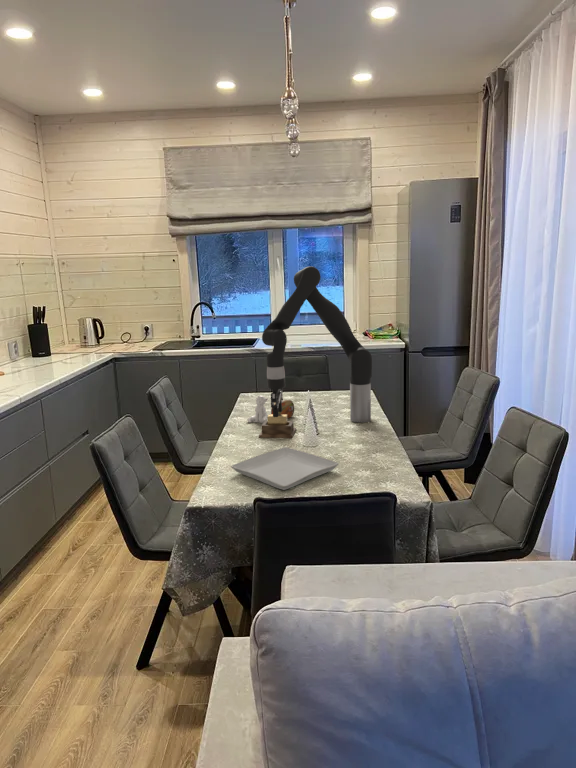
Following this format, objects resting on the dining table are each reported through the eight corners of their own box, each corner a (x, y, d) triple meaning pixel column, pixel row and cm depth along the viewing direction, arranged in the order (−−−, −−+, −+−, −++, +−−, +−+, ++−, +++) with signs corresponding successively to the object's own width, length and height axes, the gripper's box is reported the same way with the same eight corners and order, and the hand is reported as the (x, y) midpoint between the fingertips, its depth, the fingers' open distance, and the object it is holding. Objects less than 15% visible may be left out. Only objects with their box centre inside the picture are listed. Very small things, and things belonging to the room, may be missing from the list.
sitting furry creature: (246, 422, 258) (245, 397, 255) (255, 417, 265) (254, 393, 263) (265, 424, 254) (263, 398, 251) (273, 419, 262) (272, 394, 259)
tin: (275, 423, 255) (274, 405, 253) (270, 422, 257) (269, 404, 255) (295, 415, 267) (294, 398, 265) (289, 414, 269) (289, 397, 267)
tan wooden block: (287, 430, 240) (287, 414, 238) (286, 432, 237) (286, 416, 236) (269, 430, 241) (268, 414, 240) (268, 432, 238) (267, 416, 237)
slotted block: (296, 429, 244) (296, 419, 243) (291, 438, 232) (291, 427, 231) (264, 429, 246) (264, 419, 245) (259, 437, 235) (258, 427, 234)
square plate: (229, 475, 194) (229, 464, 194) (286, 455, 213) (285, 445, 212) (284, 496, 175) (283, 484, 175) (340, 472, 194) (340, 461, 193)
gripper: (281, 380, 227) (283, 418, 230) (287, 373, 240) (289, 410, 244) (263, 380, 228) (265, 418, 231) (270, 373, 242) (272, 409, 245)
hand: (277, 414), depth 237 cm, fingers open, 8 cm apart
